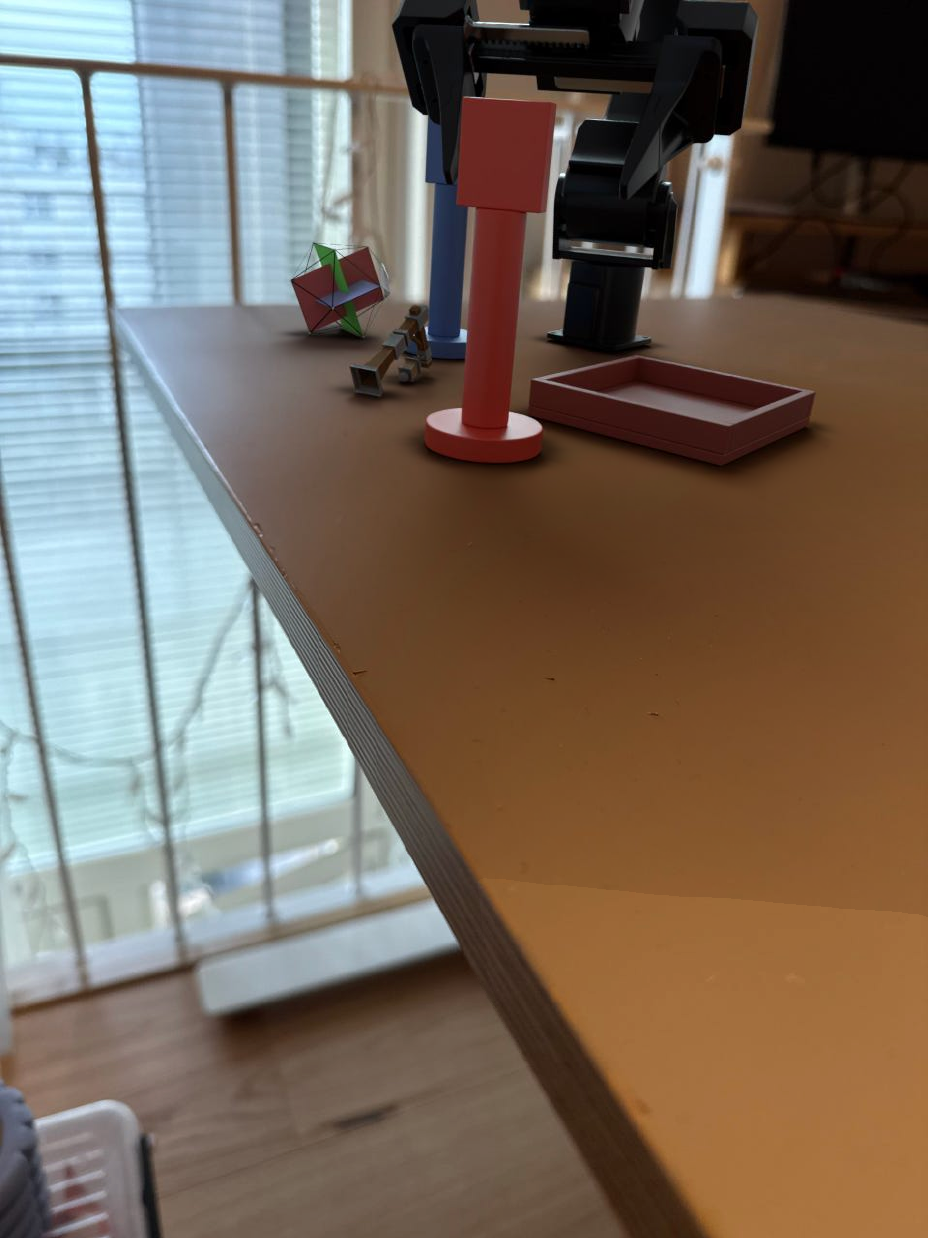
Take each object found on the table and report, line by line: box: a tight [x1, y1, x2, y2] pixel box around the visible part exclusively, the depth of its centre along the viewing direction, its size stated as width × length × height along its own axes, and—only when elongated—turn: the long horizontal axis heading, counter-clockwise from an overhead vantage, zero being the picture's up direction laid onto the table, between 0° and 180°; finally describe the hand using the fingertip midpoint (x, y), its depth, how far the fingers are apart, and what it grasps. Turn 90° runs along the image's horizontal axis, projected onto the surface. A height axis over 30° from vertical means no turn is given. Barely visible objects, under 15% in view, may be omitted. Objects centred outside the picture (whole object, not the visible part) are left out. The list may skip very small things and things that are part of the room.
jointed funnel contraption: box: [348, 303, 433, 397], centre depth 58 cm, size 2×8×4 cm, turn 153°
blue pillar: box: [404, 115, 469, 360], centre depth 65 cm, size 6×6×16 cm
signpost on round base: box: [424, 97, 557, 464], centre depth 44 cm, size 6×6×16 cm
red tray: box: [527, 354, 817, 467], centre depth 54 cm, size 12×12×2 cm
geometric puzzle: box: [289, 241, 391, 338], centre depth 71 cm, size 7×7×8 cm
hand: (533, 185), depth 47 cm, fingers open, 9 cm apart
